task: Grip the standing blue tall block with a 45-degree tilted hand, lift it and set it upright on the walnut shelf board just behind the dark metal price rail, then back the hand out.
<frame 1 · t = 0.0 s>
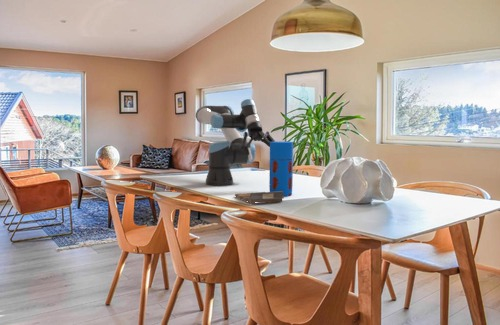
hand: (263, 159, 221), 15 cm above the table, tool tilted 35°, fingers open, 13 cm apart
shelf board: (258, 199, 196), on the table
blue tall block: (280, 195, 209), on the table
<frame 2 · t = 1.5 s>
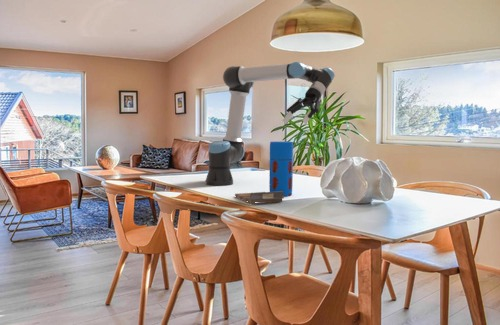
hand: (294, 122, 215), 34 cm above the table, tool tilted 45°, fingers open, 13 cm apart
nothing on the table moved.
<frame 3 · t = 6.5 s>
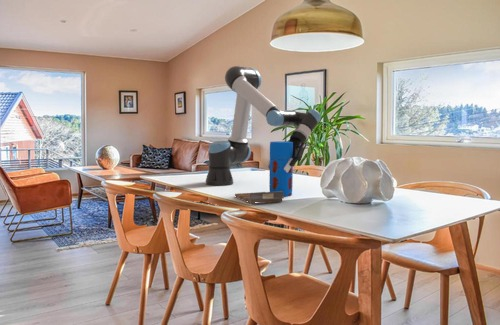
hand: (276, 169, 206), 12 cm above the table, tool tilted 45°, fingers closed on blue tall block, 11 cm apart
blue tall block: (280, 195, 209), on the table, touching gripper
when the fingers open (15 cm above the table, at t = 14.2 s): blue tall block drops 1 cm, resting on shelf board.
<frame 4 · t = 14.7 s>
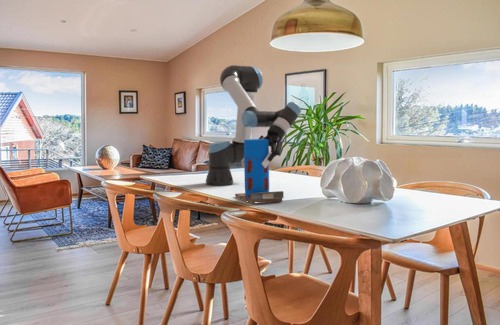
hand: (253, 164, 192), 16 cm above the table, tool tilted 45°, fingers open, 13 cm apart
blue tall block: (257, 196, 195), point 1 cm above the table, touching shelf board
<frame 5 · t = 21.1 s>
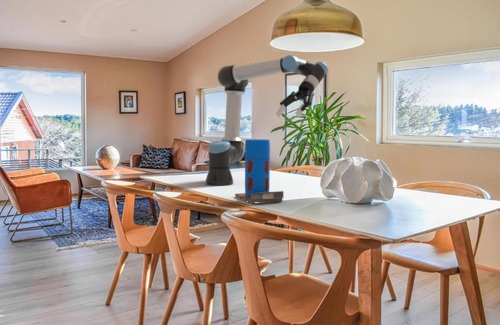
hand: (287, 115, 217), 38 cm above the table, tool tilted 45°, fingers open, 13 cm apart
nothing on the table moved.
at the end: blue tall block inside the target area on the shelf board (0.4 cm from its centre), point 1.3 cm above the shelf board's base; blue tall block tilted 0°; the gripper is holding nothing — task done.
